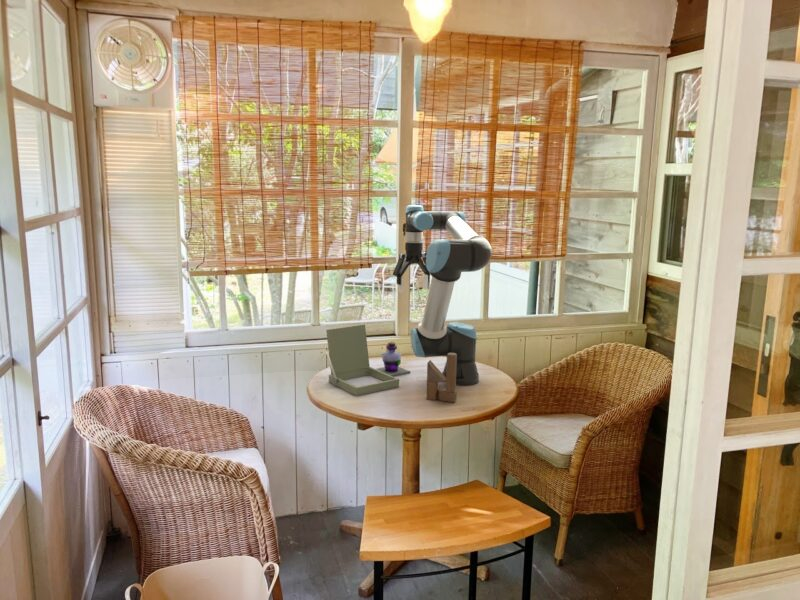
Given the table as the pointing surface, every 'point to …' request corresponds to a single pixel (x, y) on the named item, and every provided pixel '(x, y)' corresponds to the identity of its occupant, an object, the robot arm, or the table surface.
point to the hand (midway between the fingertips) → (412, 290)
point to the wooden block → (442, 380)
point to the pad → (397, 373)
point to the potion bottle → (391, 358)
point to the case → (353, 361)
